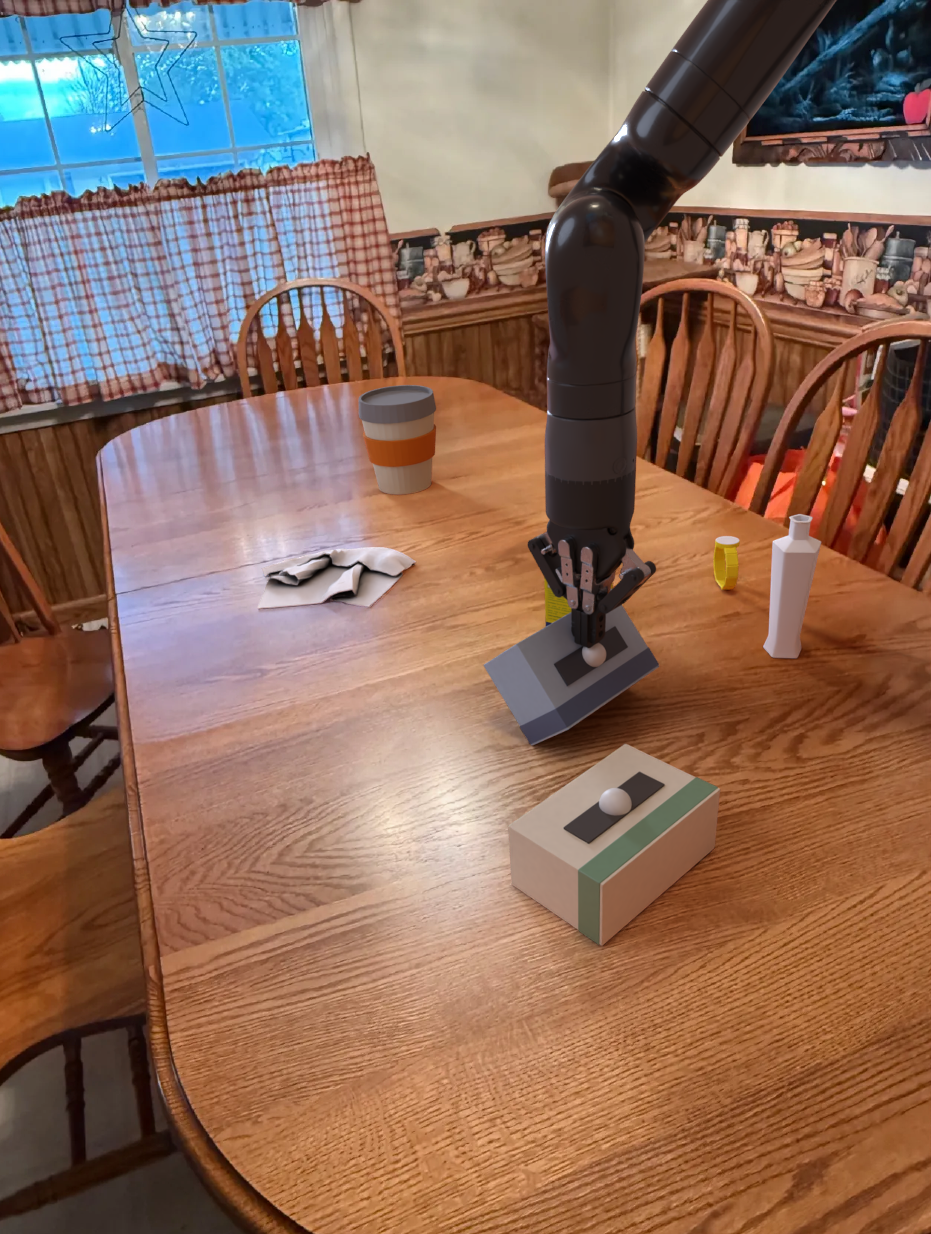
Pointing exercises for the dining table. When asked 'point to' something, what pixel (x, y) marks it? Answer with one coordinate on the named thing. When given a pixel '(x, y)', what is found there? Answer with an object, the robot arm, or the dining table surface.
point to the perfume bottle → (790, 587)
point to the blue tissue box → (568, 674)
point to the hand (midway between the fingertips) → (587, 642)
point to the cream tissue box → (613, 840)
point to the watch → (726, 549)
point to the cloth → (334, 577)
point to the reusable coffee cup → (400, 436)
